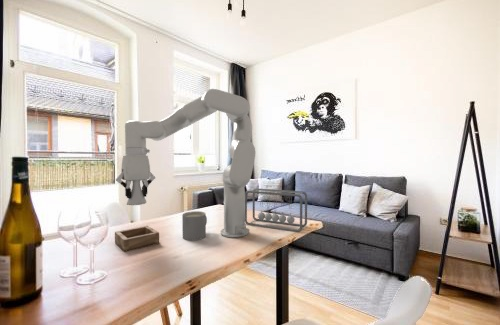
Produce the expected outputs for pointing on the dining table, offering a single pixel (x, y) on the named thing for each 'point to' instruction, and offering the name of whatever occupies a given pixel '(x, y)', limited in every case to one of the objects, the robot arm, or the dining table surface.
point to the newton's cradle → (275, 217)
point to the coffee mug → (194, 225)
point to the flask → (136, 194)
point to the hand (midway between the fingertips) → (136, 196)
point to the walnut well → (136, 238)
